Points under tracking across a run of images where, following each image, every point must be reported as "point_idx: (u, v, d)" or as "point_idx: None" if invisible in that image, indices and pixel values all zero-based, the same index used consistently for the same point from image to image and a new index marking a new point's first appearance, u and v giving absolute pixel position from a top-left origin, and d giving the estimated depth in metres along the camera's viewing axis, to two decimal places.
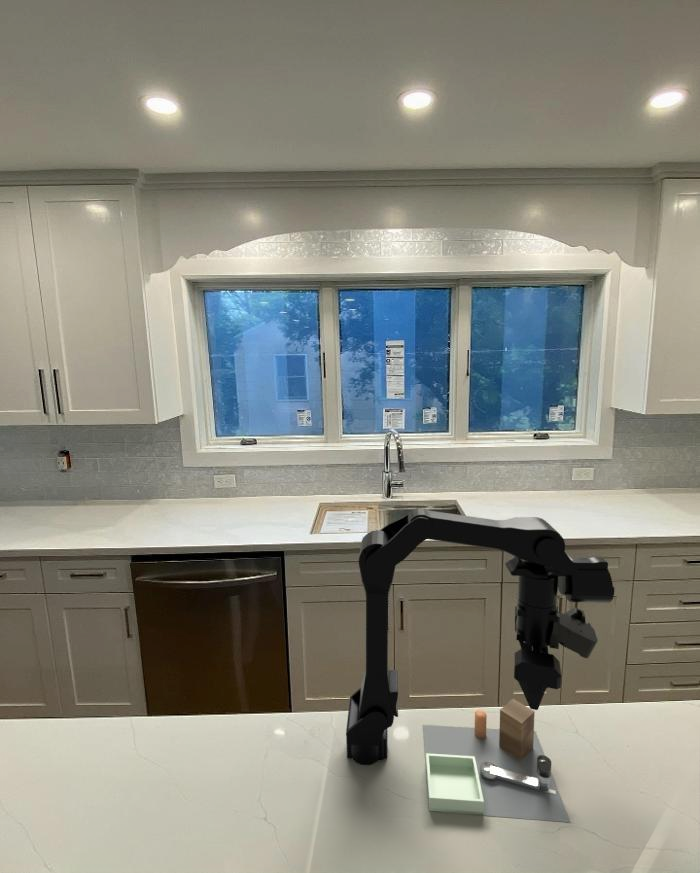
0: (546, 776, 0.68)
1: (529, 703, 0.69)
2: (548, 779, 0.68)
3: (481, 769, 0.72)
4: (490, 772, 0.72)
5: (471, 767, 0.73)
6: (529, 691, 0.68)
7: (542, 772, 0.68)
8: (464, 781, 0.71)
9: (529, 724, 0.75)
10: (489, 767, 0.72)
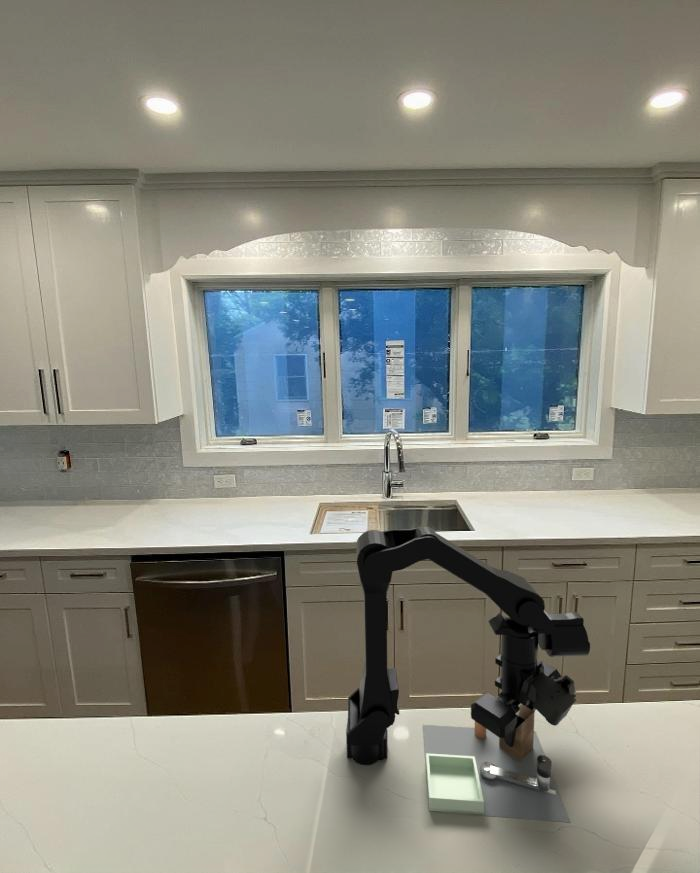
0: (546, 776, 0.68)
1: (504, 738, 0.76)
2: (548, 779, 0.68)
3: (481, 769, 0.72)
4: (490, 772, 0.72)
5: (471, 767, 0.73)
6: None
7: (542, 772, 0.68)
8: (464, 781, 0.71)
9: (529, 724, 0.75)
10: (489, 767, 0.72)
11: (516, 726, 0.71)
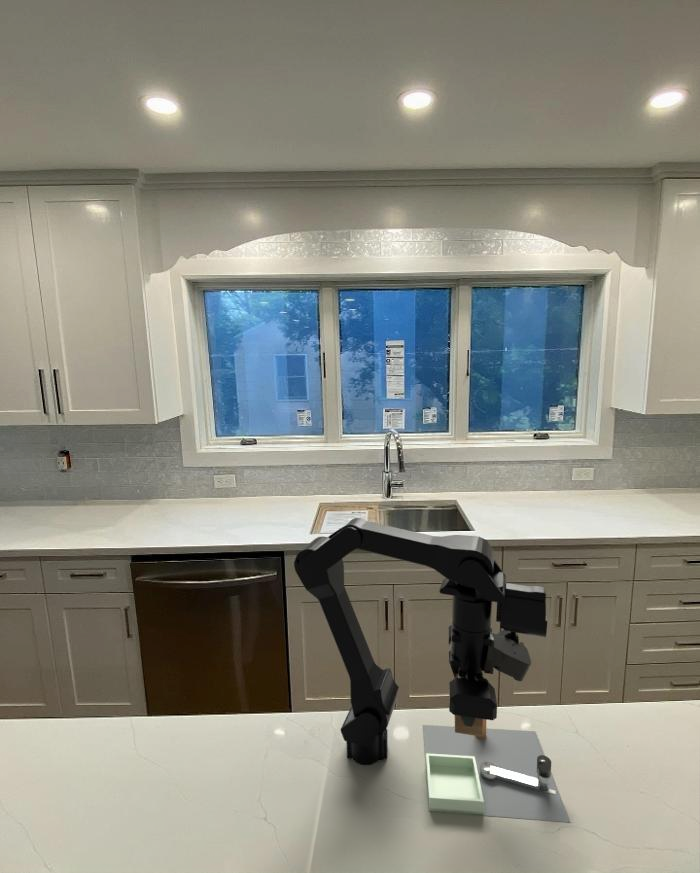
0: (546, 776, 0.68)
1: (464, 720, 0.68)
2: (548, 779, 0.68)
3: (481, 769, 0.72)
4: (490, 772, 0.72)
5: (471, 767, 0.73)
6: None
7: (542, 772, 0.68)
8: (464, 781, 0.71)
9: None
10: (489, 767, 0.72)
11: None
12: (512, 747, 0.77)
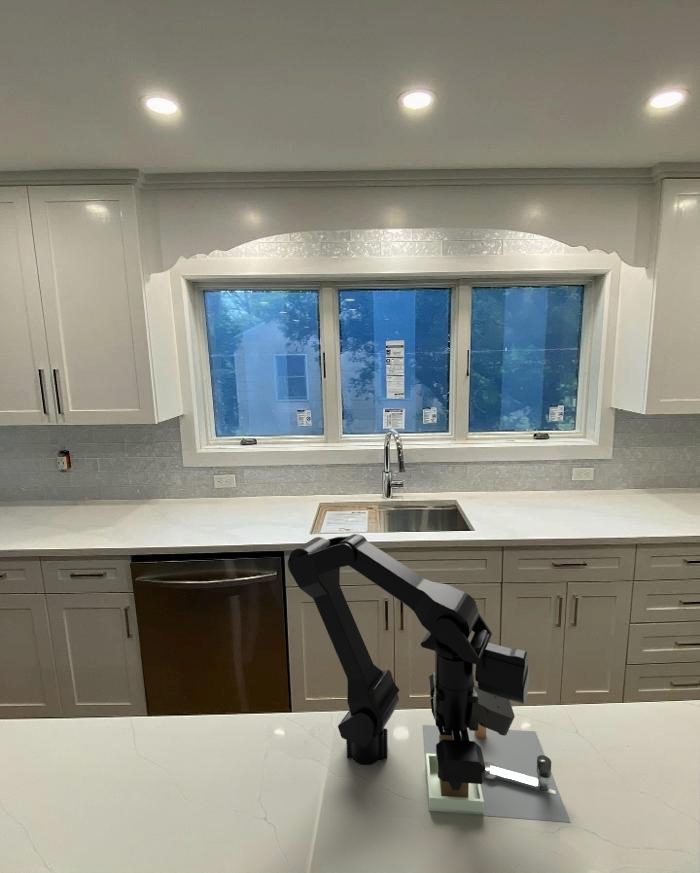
0: (546, 776, 0.68)
1: (451, 785, 0.66)
2: (548, 779, 0.68)
3: None
4: (490, 772, 0.72)
5: None
6: None
7: (542, 772, 0.68)
8: None
9: None
10: (489, 767, 0.72)
11: None
12: (512, 747, 0.77)
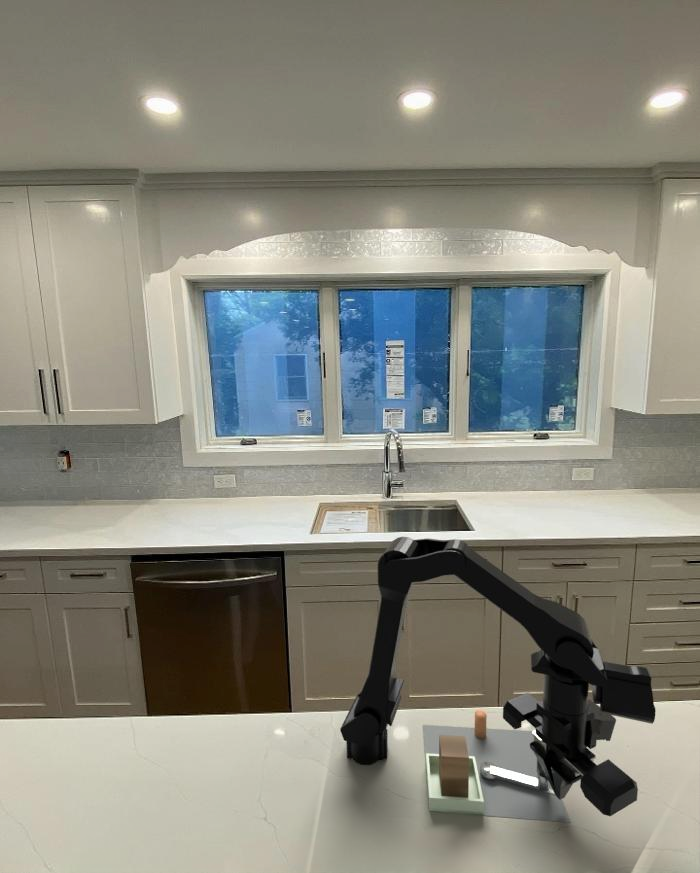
0: None
1: (561, 795, 0.65)
2: None
3: (481, 769, 0.72)
4: (490, 772, 0.72)
5: (471, 767, 0.73)
6: (565, 785, 0.64)
7: (542, 772, 0.68)
8: None
9: None
10: (489, 767, 0.72)
11: None
12: (512, 747, 0.77)
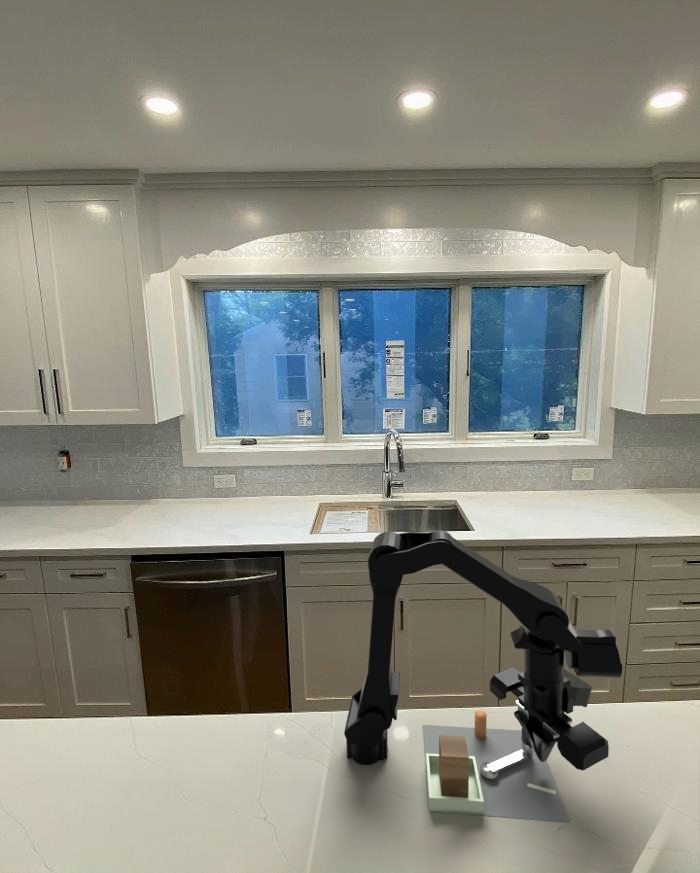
0: None
1: (542, 758, 0.71)
2: None
3: (485, 773, 0.71)
4: (491, 771, 0.72)
5: (471, 767, 0.73)
6: (545, 747, 0.70)
7: None
8: None
9: None
10: (487, 767, 0.72)
11: None
12: (512, 747, 0.77)
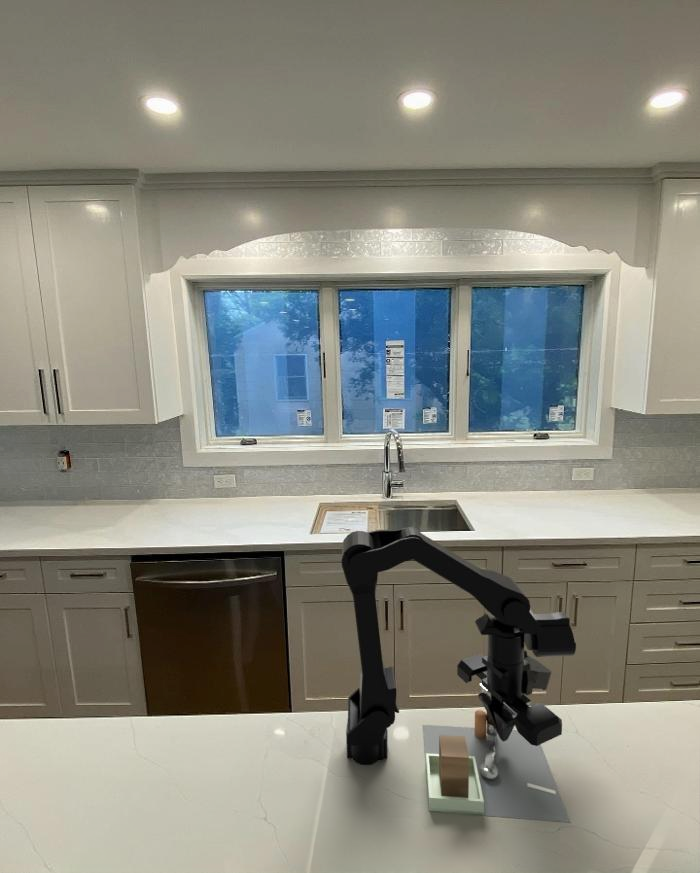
0: None
1: (503, 737, 0.76)
2: None
3: (491, 775, 0.71)
4: (491, 769, 0.72)
5: (471, 767, 0.73)
6: (506, 727, 0.75)
7: None
8: None
9: None
10: (486, 768, 0.72)
11: None
12: (512, 747, 0.77)
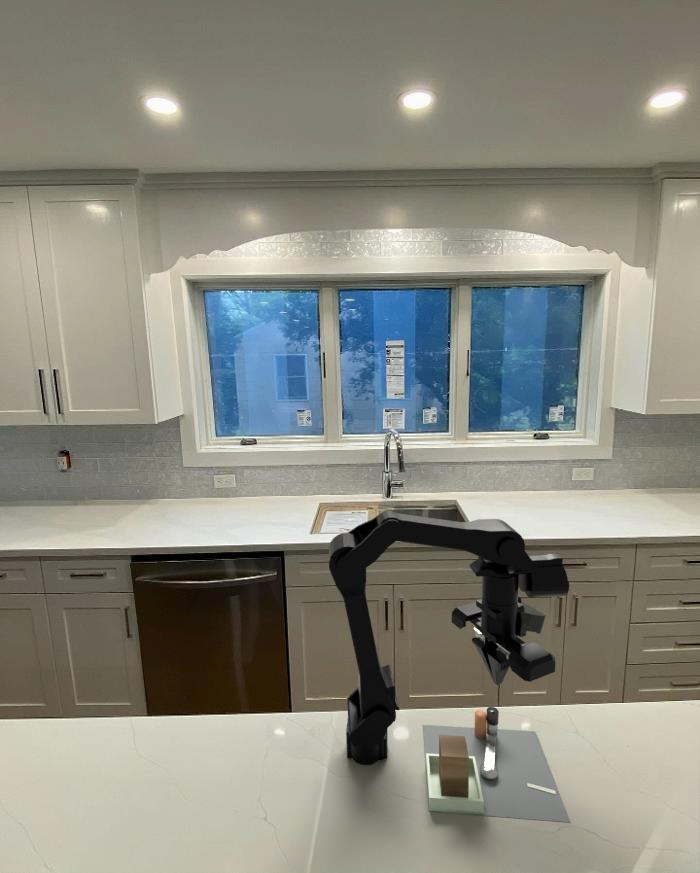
0: None
1: (497, 680, 0.76)
2: None
3: (491, 775, 0.71)
4: (491, 769, 0.72)
5: (471, 767, 0.73)
6: (500, 670, 0.75)
7: None
8: None
9: None
10: (486, 768, 0.72)
11: None
12: (512, 747, 0.77)
